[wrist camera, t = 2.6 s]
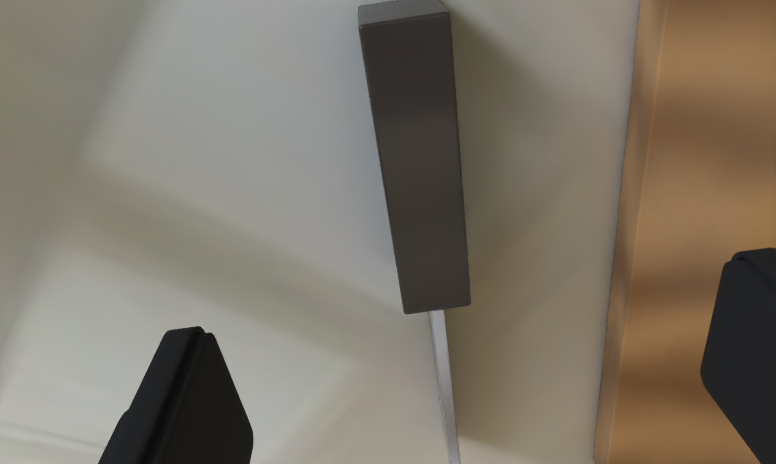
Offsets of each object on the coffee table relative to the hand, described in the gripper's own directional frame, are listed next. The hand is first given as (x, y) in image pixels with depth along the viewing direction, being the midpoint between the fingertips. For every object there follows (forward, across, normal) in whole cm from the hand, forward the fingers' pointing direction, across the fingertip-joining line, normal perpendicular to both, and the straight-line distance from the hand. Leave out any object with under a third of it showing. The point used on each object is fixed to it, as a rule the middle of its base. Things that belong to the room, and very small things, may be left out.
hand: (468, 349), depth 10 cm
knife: (+9, 0, +4) cm, 10 cm away
